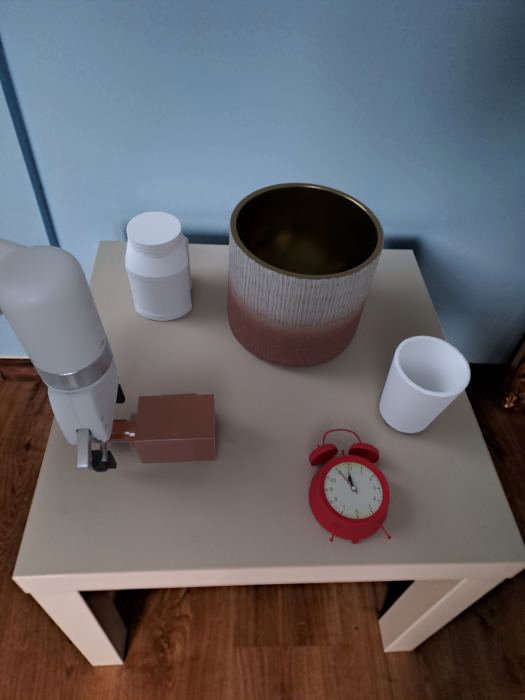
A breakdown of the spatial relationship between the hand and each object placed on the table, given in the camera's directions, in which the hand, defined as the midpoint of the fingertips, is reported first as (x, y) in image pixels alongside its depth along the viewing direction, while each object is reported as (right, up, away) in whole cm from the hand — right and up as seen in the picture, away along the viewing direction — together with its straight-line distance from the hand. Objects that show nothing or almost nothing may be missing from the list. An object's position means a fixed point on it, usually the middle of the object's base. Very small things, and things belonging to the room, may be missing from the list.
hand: (109, 432), depth 61 cm
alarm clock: (+32, -8, +1) cm, 32 cm away
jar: (+3, +20, +20) cm, 29 cm away
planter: (+25, +16, +18) cm, 35 cm away
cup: (+42, +1, +8) cm, 43 cm away
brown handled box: (+14, +1, +2) cm, 14 cm away
